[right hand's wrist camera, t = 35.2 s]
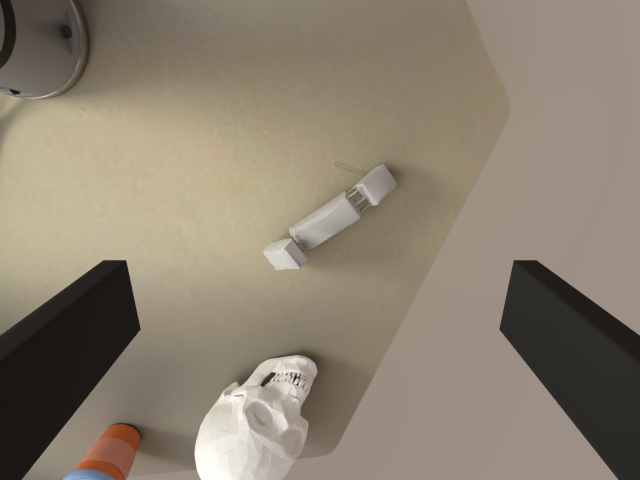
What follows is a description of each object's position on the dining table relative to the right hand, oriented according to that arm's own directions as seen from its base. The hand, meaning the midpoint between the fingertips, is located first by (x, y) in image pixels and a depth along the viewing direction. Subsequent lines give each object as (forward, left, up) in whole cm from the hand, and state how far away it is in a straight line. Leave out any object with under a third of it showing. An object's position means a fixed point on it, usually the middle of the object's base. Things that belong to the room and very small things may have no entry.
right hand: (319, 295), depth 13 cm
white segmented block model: (-4, -7, -37) cm, 38 cm away
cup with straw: (-58, -17, -37) cm, 71 cm away
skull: (-31, -25, -37) cm, 55 cm away
